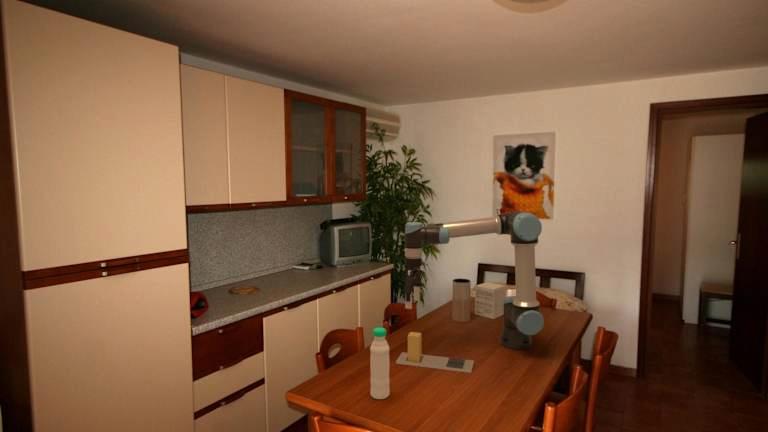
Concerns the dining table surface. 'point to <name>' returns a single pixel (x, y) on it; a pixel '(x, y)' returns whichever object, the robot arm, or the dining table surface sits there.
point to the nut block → (414, 346)
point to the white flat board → (438, 363)
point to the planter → (461, 300)
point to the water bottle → (379, 365)
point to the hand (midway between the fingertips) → (412, 304)
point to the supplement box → (489, 300)
